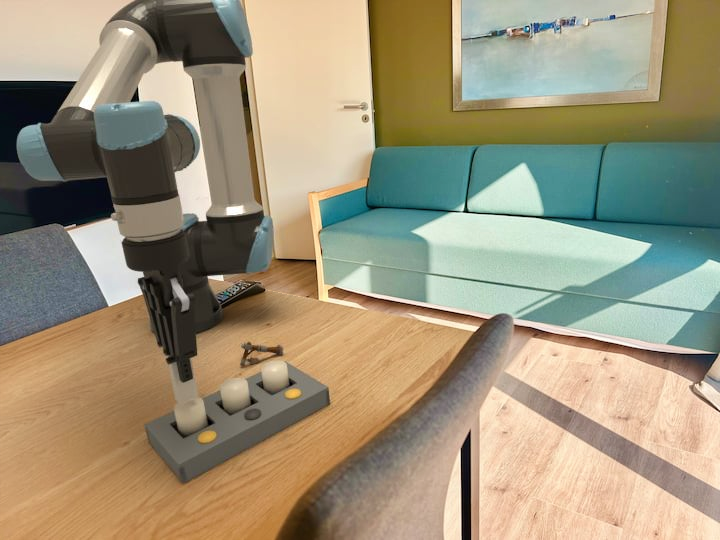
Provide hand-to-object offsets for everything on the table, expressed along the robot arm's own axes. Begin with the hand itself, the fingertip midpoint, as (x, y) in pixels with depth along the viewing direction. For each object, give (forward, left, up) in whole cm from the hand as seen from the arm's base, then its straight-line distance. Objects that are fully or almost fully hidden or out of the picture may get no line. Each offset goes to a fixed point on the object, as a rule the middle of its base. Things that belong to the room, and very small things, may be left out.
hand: (186, 397), depth 71 cm
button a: (0, 0, -5) cm, 5 cm away
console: (+1, +7, -7) cm, 10 cm away
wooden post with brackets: (-13, +19, -8) cm, 25 cm away
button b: (0, +7, -5) cm, 9 cm away
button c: (0, +14, -5) cm, 15 cm away
